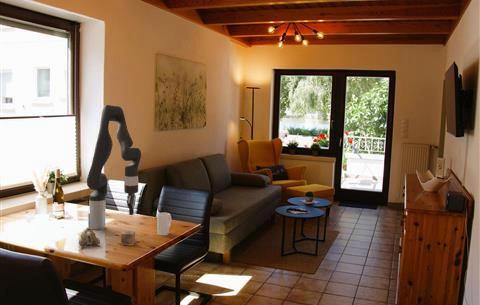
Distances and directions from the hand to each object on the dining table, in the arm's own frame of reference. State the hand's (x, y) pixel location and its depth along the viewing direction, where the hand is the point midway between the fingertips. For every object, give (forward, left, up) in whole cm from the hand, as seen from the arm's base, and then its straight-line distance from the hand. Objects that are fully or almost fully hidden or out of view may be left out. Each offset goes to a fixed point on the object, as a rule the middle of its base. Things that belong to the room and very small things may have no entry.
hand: (131, 214), depth 251 cm
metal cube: (0, -7, -14) cm, 16 cm away
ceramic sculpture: (-20, -10, -15) cm, 27 cm away
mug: (+17, +13, -14) cm, 26 cm away
